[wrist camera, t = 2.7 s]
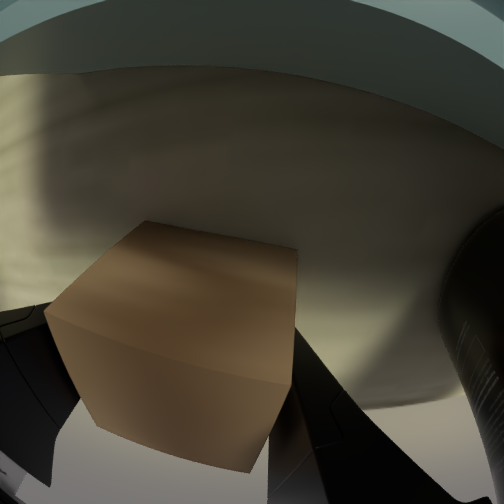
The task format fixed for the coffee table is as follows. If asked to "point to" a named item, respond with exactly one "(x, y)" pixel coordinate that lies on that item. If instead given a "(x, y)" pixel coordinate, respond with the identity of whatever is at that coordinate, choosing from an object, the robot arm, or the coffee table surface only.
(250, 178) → the coffee table surface
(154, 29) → the tote
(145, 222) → the walnut cube
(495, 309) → the supplement bottle
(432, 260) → the coffee table surface
